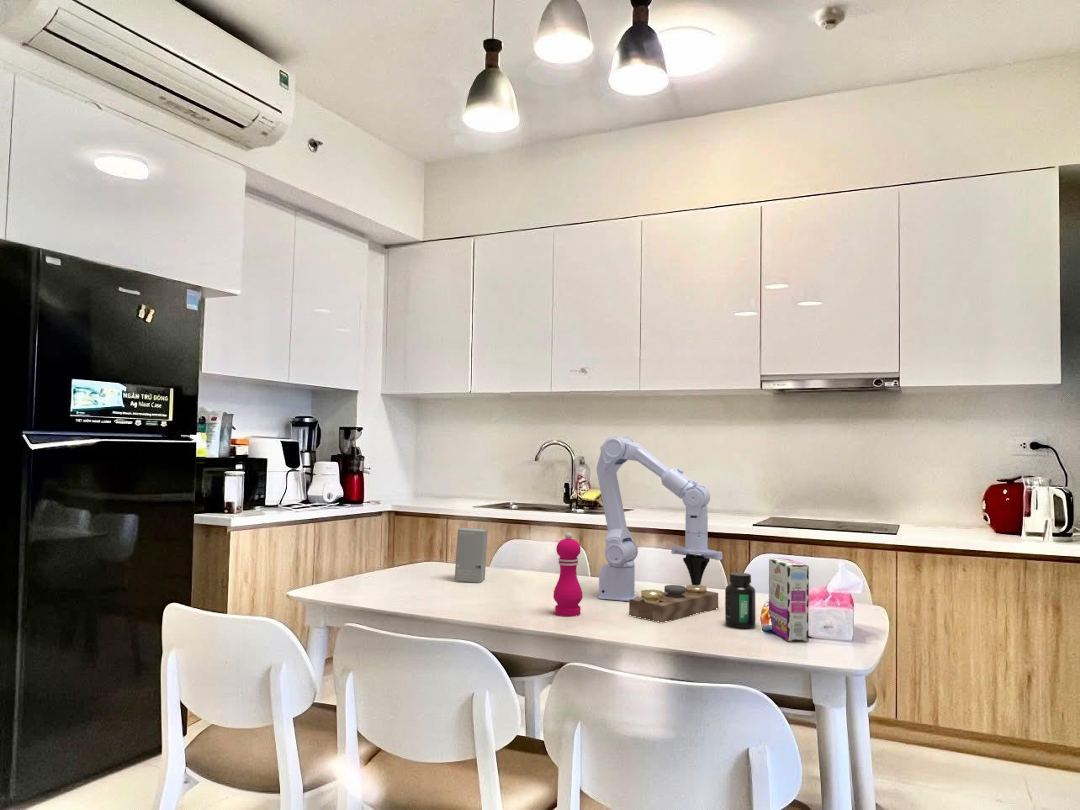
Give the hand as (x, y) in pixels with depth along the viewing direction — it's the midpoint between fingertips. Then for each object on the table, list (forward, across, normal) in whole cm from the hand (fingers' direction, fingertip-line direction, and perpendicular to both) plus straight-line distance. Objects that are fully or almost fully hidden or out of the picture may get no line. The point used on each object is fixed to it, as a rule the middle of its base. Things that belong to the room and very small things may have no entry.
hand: (696, 584), depth 196 cm
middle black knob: (+4, 0, -9) cm, 10 cm away
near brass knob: (+4, 0, -19) cm, 19 cm away
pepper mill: (+6, -17, -31) cm, 36 cm away
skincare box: (+6, -67, -21) cm, 71 cm away
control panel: (+6, 0, -10) cm, 11 cm away
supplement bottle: (+6, +19, -10) cm, 22 cm away
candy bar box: (+6, +31, -10) cm, 33 cm away
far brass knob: (+5, 0, 0) cm, 5 cm away
